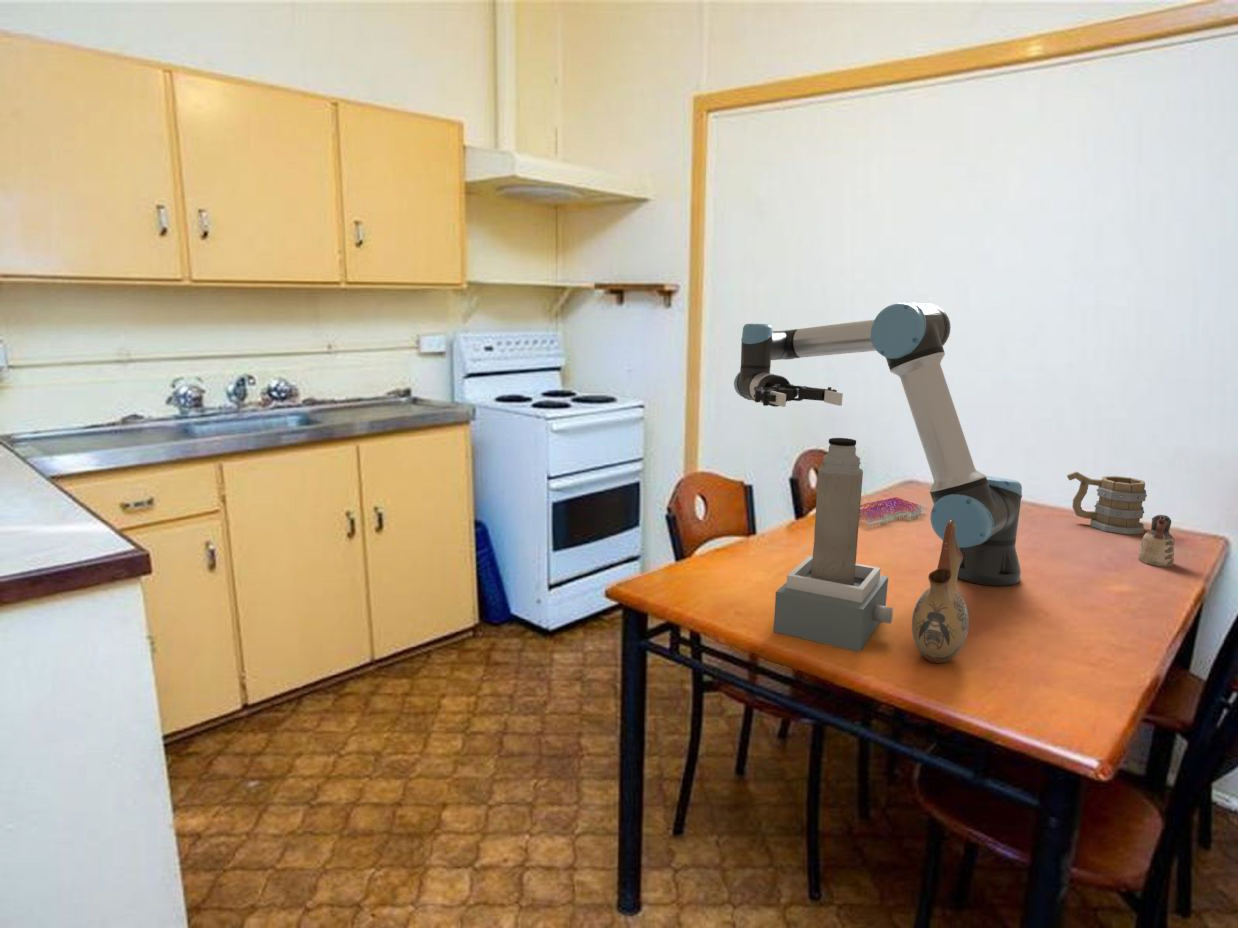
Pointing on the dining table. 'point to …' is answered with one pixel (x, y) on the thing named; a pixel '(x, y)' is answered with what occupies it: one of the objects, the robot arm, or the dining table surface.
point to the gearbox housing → (832, 607)
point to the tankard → (1113, 503)
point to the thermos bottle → (837, 513)
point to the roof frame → (899, 505)
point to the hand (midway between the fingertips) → (812, 400)
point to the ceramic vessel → (942, 606)
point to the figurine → (1158, 543)
